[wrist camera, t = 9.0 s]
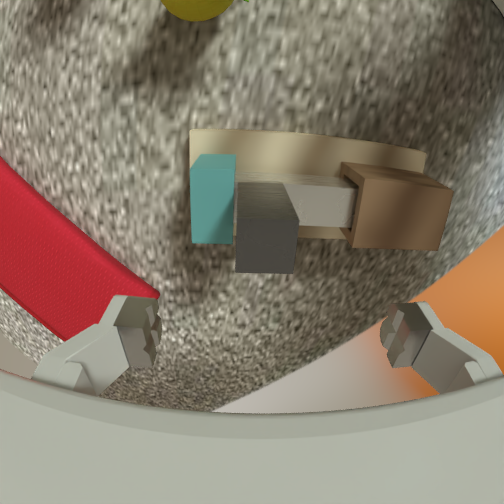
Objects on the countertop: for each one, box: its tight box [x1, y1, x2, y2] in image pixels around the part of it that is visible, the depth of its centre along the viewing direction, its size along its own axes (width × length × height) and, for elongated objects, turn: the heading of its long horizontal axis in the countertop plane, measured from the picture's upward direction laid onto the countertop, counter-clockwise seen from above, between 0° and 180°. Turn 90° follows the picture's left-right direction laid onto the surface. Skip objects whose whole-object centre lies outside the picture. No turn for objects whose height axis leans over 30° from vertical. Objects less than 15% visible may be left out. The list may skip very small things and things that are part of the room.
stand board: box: [190, 129, 427, 239], centre depth 26 cm, size 21×9×2 cm, turn 87°
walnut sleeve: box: [339, 161, 454, 251], centre depth 23 cm, size 8×5×5 cm, turn 87°
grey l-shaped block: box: [233, 172, 359, 274], centre depth 20 cm, size 13×3×10 cm, turn 87°
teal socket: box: [190, 154, 236, 244], centre depth 22 cm, size 3×5×5 cm, turn 177°
